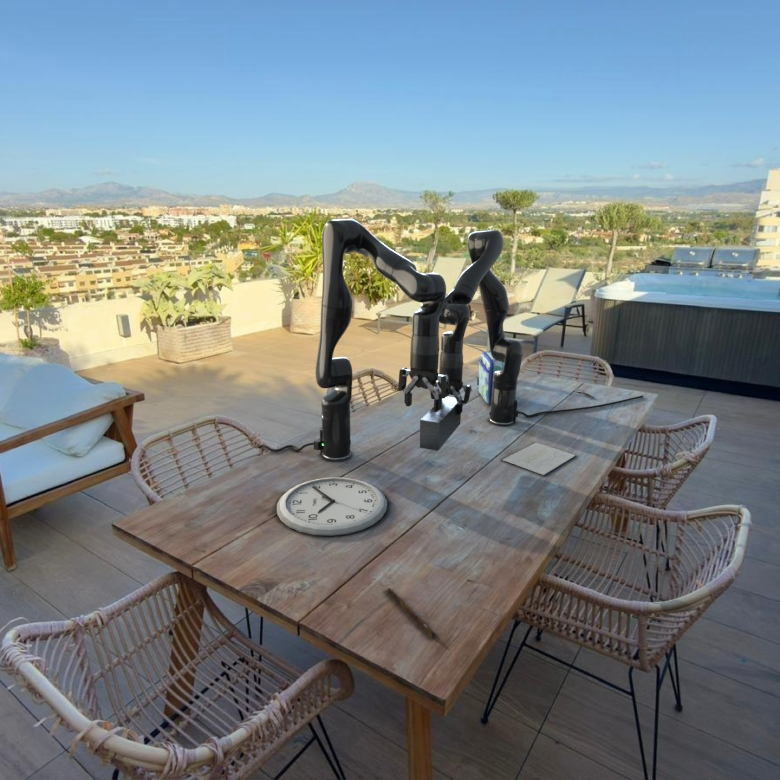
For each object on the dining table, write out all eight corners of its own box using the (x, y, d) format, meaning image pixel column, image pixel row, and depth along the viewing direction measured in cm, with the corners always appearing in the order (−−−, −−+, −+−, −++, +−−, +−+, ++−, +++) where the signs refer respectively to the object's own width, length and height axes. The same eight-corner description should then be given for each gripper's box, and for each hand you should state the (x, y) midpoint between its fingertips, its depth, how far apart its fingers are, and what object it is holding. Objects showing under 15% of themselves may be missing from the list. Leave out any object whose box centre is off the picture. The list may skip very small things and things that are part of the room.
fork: (592, 399, 235) (592, 395, 235) (571, 389, 250) (572, 385, 249) (597, 399, 236) (597, 394, 235) (576, 388, 251) (576, 384, 250)
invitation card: (535, 442, 186) (575, 454, 176) (535, 442, 187) (575, 455, 176) (502, 459, 172) (543, 474, 162) (502, 460, 172) (543, 475, 162)
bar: (443, 421, 180) (444, 396, 178) (460, 423, 178) (461, 398, 175) (419, 447, 160) (420, 419, 157) (438, 451, 157) (439, 422, 154)
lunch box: (475, 390, 246) (478, 346, 240) (498, 390, 246) (501, 347, 240) (484, 408, 221) (487, 360, 215) (509, 409, 221) (513, 360, 215)
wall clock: (392, 527, 129) (268, 531, 127) (391, 533, 130) (269, 537, 127) (383, 473, 158) (282, 475, 155) (383, 478, 158) (282, 480, 156)
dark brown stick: (387, 592, 109) (387, 587, 109) (388, 591, 109) (388, 587, 109) (431, 637, 97) (431, 633, 97) (433, 636, 97) (433, 632, 97)
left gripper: (394, 349, 138) (393, 407, 143) (443, 357, 131) (440, 417, 136) (407, 344, 144) (406, 400, 149) (455, 351, 138) (452, 409, 142)
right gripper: (426, 364, 169) (425, 413, 174) (469, 369, 163) (467, 419, 168) (433, 359, 175) (432, 406, 180) (475, 363, 170) (473, 412, 175)
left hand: (422, 408), depth 143 cm, fingers open, 8 cm apart
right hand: (449, 412), depth 174 cm, fingers closed on bar, 6 cm apart
